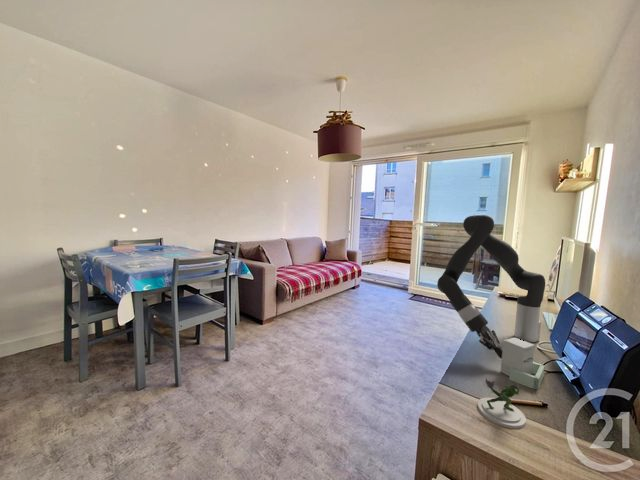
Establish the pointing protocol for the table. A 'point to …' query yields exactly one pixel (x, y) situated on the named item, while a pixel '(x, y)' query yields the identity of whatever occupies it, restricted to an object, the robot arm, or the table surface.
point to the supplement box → (517, 356)
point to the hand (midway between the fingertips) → (503, 357)
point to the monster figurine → (502, 407)
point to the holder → (529, 376)
